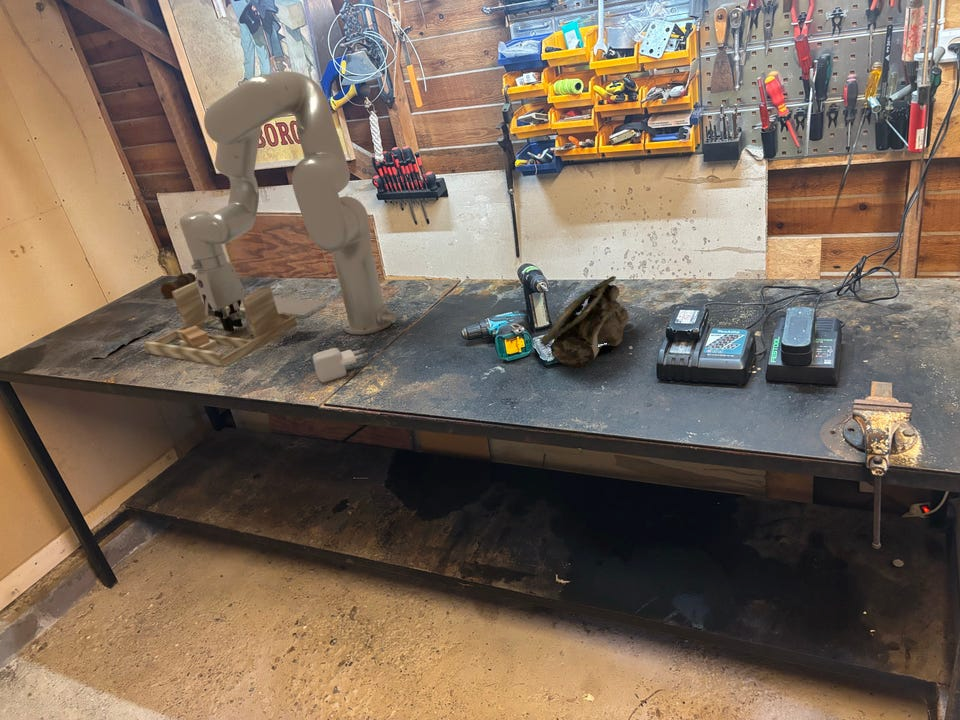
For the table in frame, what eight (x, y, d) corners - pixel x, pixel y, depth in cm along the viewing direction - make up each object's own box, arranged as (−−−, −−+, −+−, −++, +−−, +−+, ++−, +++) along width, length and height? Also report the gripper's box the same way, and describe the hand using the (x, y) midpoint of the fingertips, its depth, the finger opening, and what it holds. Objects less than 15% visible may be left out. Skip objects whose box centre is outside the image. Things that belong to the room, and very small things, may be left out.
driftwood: (103, 362, 163) (100, 354, 162) (85, 360, 165) (81, 353, 164) (165, 328, 180) (162, 322, 179) (147, 327, 182) (145, 321, 181)
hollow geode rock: (567, 401, 123) (616, 360, 113) (520, 356, 124) (564, 310, 113) (617, 336, 144) (662, 295, 133) (576, 297, 144) (618, 254, 134)
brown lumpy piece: (197, 286, 215) (174, 302, 202) (182, 281, 215) (159, 296, 201) (200, 271, 213) (178, 286, 199) (186, 265, 212) (162, 280, 199)
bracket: (257, 331, 160) (234, 296, 158) (221, 355, 174) (200, 323, 172) (266, 325, 162) (244, 291, 160) (230, 349, 176) (210, 318, 174)
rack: (296, 324, 167) (284, 280, 161) (225, 366, 149) (208, 319, 143) (219, 315, 181) (205, 275, 176) (146, 352, 163) (128, 309, 158)
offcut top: (209, 341, 157) (206, 332, 156) (193, 348, 155) (190, 338, 153) (198, 334, 162) (195, 325, 161) (183, 340, 160) (179, 331, 159)
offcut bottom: (219, 351, 158) (215, 340, 157) (205, 358, 156) (201, 347, 154) (197, 345, 164) (193, 335, 163) (183, 352, 161) (179, 341, 160)
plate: (326, 305, 176) (325, 301, 176) (304, 318, 169) (303, 315, 169) (253, 298, 190) (252, 295, 190) (230, 310, 183) (229, 307, 183)
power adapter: (366, 361, 141) (360, 337, 138) (372, 369, 137) (366, 345, 134) (317, 376, 137) (310, 352, 135) (321, 385, 133) (314, 361, 131)
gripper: (194, 274, 151) (219, 343, 160) (245, 251, 163) (266, 317, 172) (174, 272, 155) (200, 340, 163) (225, 251, 167) (246, 315, 175)
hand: (233, 328), depth 167 cm, fingers closed on bracket, 2 cm apart
